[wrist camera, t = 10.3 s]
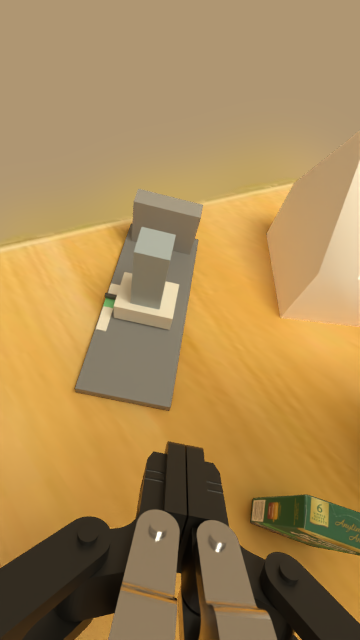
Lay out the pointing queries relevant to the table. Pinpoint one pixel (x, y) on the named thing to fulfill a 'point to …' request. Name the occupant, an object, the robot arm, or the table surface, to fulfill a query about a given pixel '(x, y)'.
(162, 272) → the gauge slider
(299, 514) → the coffee box
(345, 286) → the white house-shaped block
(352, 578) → the table surface
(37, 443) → the table surface
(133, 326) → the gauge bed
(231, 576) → the robot arm
